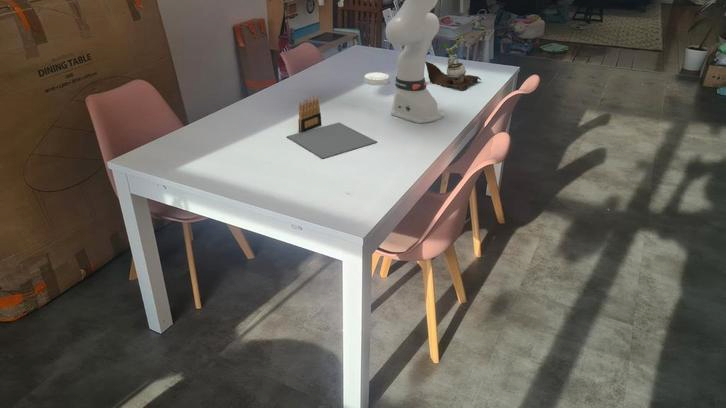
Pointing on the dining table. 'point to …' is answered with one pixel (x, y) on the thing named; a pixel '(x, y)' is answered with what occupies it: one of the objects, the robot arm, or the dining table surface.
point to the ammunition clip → (309, 115)
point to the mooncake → (376, 78)
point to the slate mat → (331, 140)
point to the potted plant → (451, 71)
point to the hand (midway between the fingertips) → (331, 5)
